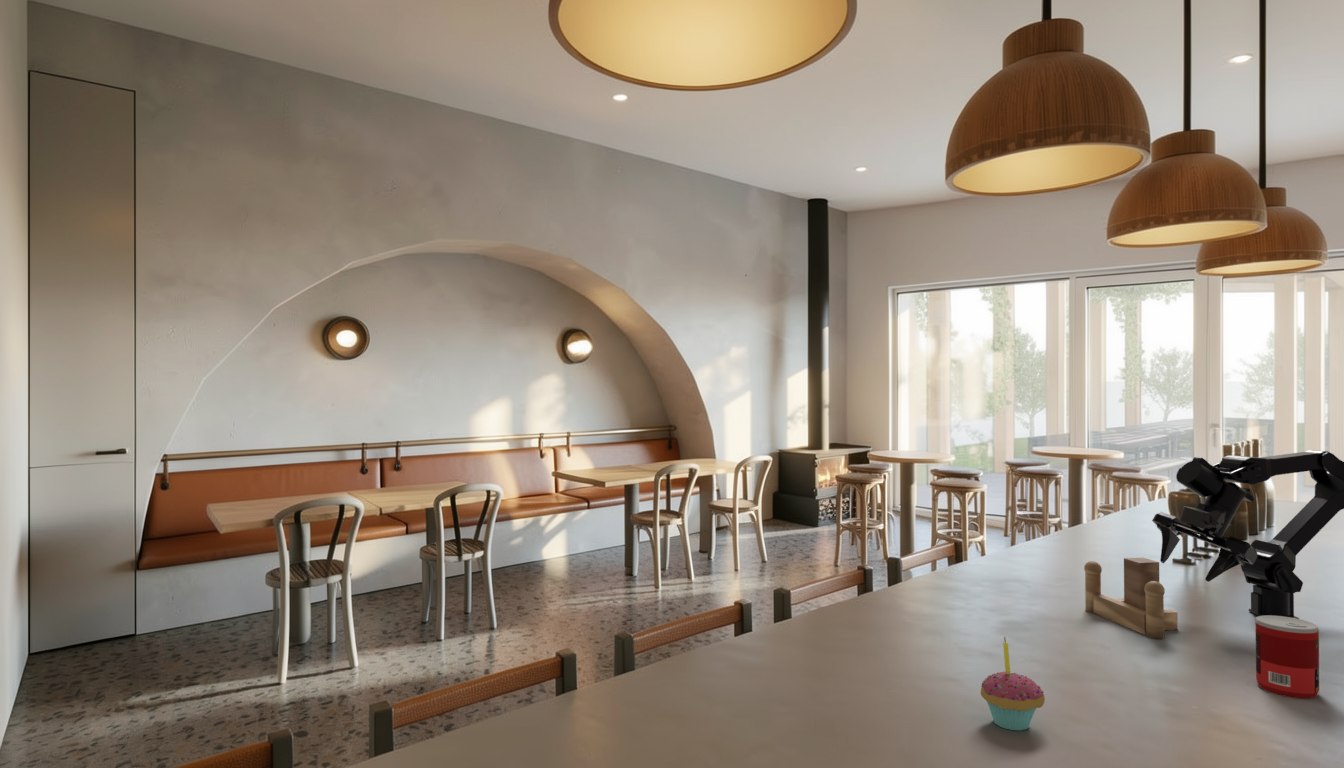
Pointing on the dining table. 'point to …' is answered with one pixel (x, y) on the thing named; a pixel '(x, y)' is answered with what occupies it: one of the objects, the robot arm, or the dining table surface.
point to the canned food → (1287, 656)
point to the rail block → (1138, 580)
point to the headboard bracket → (1129, 606)
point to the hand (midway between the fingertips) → (1183, 571)
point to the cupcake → (1011, 697)
